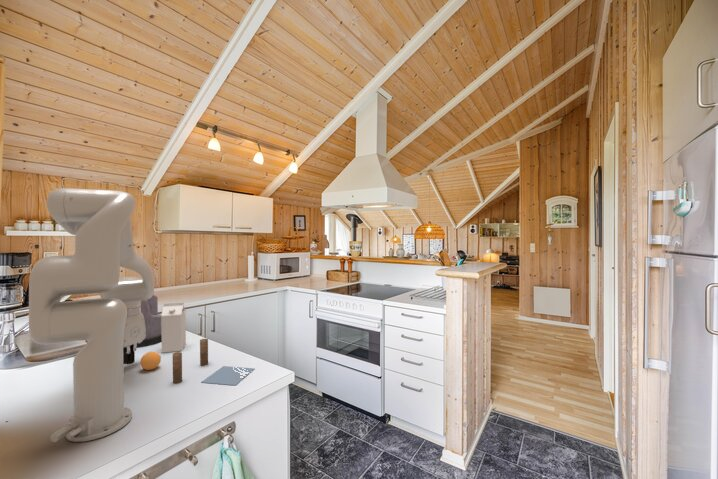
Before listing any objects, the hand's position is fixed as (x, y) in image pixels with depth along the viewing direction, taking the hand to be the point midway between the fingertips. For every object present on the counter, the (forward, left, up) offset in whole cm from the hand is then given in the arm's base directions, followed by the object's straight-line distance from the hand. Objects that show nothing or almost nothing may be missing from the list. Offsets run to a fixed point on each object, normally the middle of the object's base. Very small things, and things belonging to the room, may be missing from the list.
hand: (128, 363), depth 110 cm
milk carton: (+18, -3, -2) cm, 18 cm away
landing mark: (0, -39, -2) cm, 39 cm away
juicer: (+19, +19, -2) cm, 27 cm away
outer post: (+7, -25, -2) cm, 26 cm away
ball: (0, -9, +2) cm, 9 cm away
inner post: (-7, -25, -2) cm, 26 cm away
